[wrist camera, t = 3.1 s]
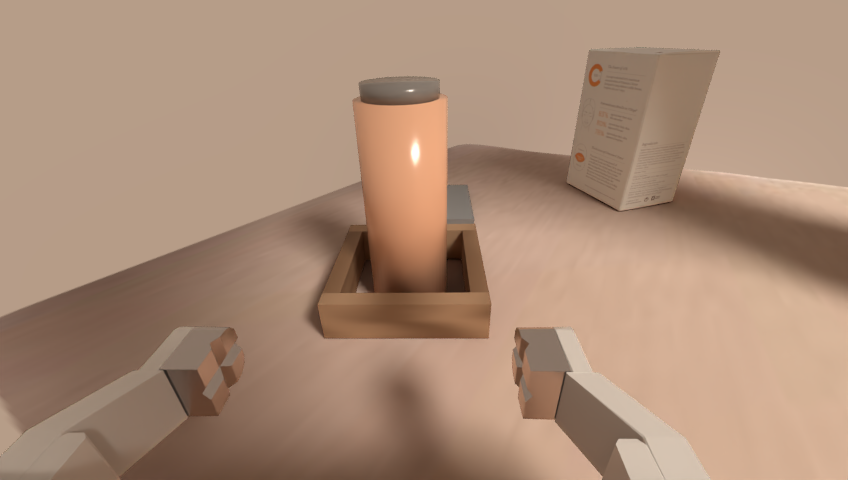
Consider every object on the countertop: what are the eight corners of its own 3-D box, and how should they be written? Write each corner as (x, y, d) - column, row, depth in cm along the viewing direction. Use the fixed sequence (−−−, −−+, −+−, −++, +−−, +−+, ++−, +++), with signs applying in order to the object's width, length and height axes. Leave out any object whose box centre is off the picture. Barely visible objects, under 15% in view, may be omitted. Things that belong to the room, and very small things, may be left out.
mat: (467, 190, 40) (467, 184, 39) (473, 225, 33) (474, 218, 32) (391, 191, 40) (391, 185, 40) (382, 226, 33) (381, 219, 33)
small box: (673, 202, 36) (724, 49, 29) (618, 213, 34) (659, 52, 28) (612, 175, 42) (642, 45, 36) (564, 182, 41) (586, 48, 34)
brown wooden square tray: (473, 251, 29) (475, 223, 28) (488, 338, 21) (491, 304, 20) (354, 252, 29) (351, 224, 28) (324, 338, 21) (317, 304, 20)
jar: (445, 268, 27) (446, 74, 21) (447, 312, 23) (449, 86, 16) (379, 268, 27) (359, 76, 21) (369, 312, 23) (340, 89, 17)
